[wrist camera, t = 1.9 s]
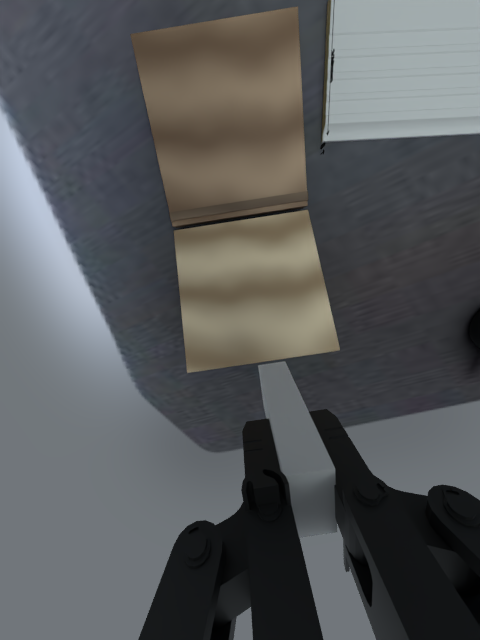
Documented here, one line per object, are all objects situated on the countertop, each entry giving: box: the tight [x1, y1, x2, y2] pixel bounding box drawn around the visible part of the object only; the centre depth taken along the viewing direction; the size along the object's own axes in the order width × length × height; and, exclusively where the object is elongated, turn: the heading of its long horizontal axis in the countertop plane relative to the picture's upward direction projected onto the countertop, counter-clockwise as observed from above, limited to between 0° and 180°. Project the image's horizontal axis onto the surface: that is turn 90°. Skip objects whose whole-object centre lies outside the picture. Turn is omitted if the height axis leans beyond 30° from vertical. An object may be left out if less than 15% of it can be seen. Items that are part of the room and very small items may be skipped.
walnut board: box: [130, 7, 308, 228], centre depth 23 cm, size 15×14×2 cm
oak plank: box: [174, 210, 340, 373], centre depth 24 cm, size 14×14×2 cm
